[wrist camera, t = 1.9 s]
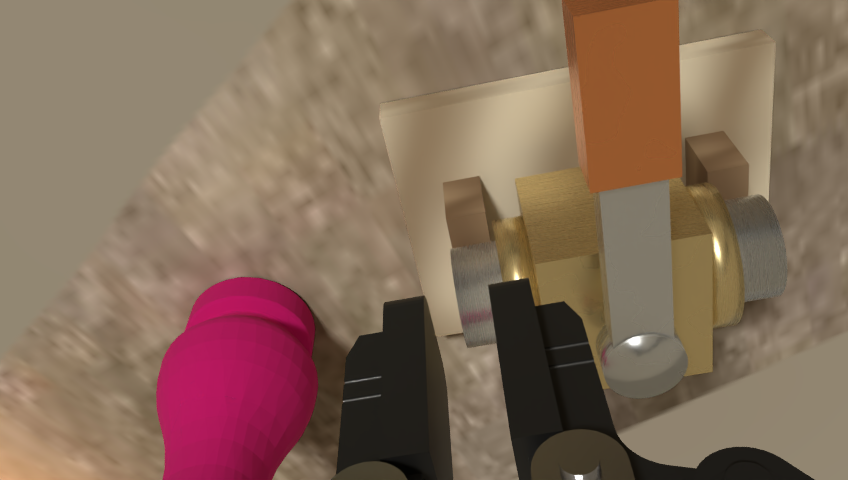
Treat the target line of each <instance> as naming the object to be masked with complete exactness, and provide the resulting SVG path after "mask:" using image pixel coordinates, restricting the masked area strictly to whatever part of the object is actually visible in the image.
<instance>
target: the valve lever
mask: <svg viewBox="0 0 848 480" xmlns="http://www.w3.org/2000/svg"><path fill="white" fill-rule="evenodd" d="M562 8H563V17H564V27H565V37H566V46H567V56H568V65H569V75H570V85H571V94H572V104H573V113H574V123H575V133H576V142H577V152H578V161H579V166H580V168H581V171H582V173H583V176H584V179H585V181H586V184H587V186H588V189H589V191H590V194H591V193H593V198H594V208H595V219H596V229H597V240H598V250H599V261H600V271H601V282H602V292H603V303H604V313H605V325H604V326H603V327H602V329H601V330H600V332H599V334H598V336H597V339H596V351H597V355H598V358H599V361H600V364H601V368H602V371H603V374H604V378H605V380H606V383H607V384H608V386H609V387H610V388H611V389H612V390H613V391H614V392H616V393H617V394H619V395H622V396H625V397H629V398H636V399H640V398H650V397H654V396H657V395H660V394H663V393H665V392H667V391H668V390H670V389H672V388H673V387H674V386H675V385H677V384H678V383H679V382H680V381H681V379H682V378H683V376H684V375H685V373H686V370H687V367H688V357H687V354H686V351H685V349H684V347H683V345H682V342H681V340H680V338H679V336H678V333H677V331H676V329H675V326H674V312H673V283H672V254H671V225H670V195H669V179H674V178H680V177H682V138H681V95H680V52H679V10H678V0H562Z"/></svg>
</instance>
